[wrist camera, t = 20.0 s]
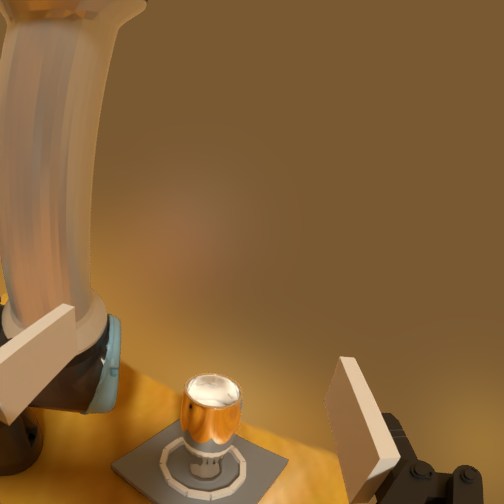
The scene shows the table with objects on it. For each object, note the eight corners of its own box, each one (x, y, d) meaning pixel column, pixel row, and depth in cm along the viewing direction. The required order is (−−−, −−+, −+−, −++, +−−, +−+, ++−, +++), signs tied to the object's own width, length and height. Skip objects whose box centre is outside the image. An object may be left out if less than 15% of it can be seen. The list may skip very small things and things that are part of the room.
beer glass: (201, 443, 40) (210, 365, 37) (238, 468, 37) (257, 390, 34) (167, 466, 35) (168, 386, 31) (207, 495, 31) (218, 418, 28)
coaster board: (111, 468, 32) (109, 459, 32) (191, 415, 48) (192, 406, 47) (220, 545, 24) (222, 539, 24) (286, 464, 40) (290, 455, 39)
